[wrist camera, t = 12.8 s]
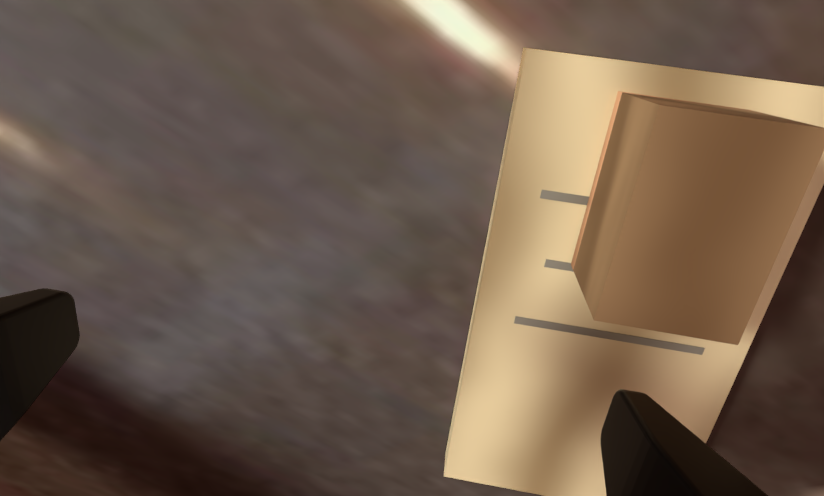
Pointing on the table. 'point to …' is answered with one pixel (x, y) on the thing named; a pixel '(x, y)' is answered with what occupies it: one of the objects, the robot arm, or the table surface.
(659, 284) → the block
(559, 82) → the birch board
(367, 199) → the table surface
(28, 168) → the table surface
